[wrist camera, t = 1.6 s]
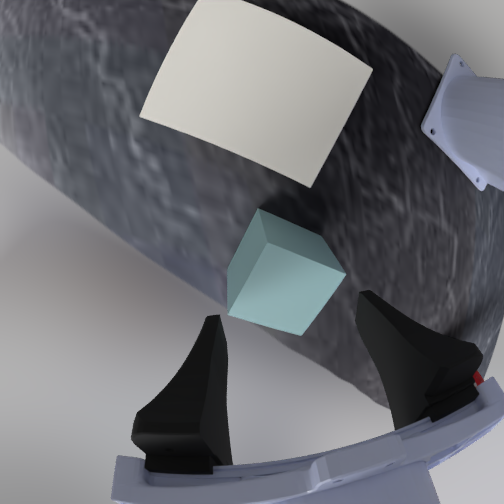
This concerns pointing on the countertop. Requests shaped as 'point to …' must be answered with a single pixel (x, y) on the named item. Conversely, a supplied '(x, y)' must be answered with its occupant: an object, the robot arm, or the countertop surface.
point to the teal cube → (281, 275)
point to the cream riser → (257, 87)
